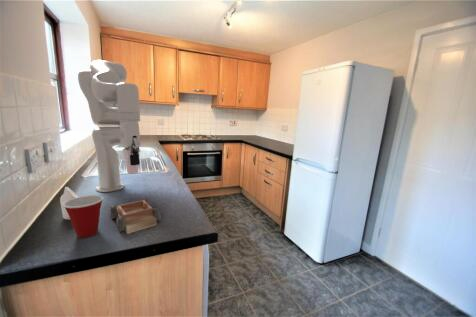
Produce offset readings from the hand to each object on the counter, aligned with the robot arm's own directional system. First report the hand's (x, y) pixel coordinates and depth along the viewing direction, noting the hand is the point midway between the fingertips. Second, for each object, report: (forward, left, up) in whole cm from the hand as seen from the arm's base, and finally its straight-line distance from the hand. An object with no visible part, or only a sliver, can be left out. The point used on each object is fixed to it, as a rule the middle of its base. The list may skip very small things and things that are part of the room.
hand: (132, 162), depth 86 cm
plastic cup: (+9, -18, -20) cm, 28 cm away
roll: (-8, -21, -20) cm, 30 cm away
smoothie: (0, 0, -4) cm, 4 cm away
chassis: (+8, -3, -20) cm, 22 cm away
